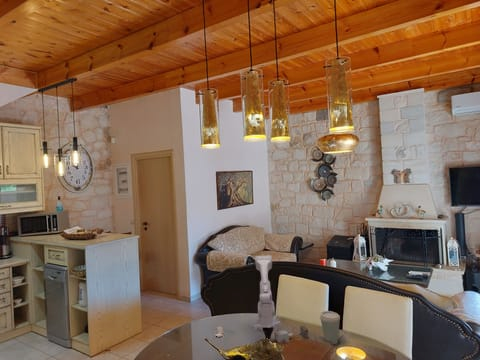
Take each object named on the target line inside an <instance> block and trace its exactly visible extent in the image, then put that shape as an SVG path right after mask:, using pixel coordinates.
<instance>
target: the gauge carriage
mask: <svg viewBox="0 0 480 360" xmlns="http://www.w3.org/2000/svg"><path fill="white" fill-rule="evenodd" d="M274 333H275V335H274V336H275V338H276V339H275V341H276V342H278V344H280V343H279V342H285V343H287V342H286V341H290V336H291V337H294V336H293V335H294V334H293V332H291V333H289V332H288V331H287V330H278V331H275V332H274Z"/></svg>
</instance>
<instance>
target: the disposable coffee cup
mask: <svg viewBox="0 0 480 360" xmlns="http://www.w3.org/2000/svg"><path fill="white" fill-rule="evenodd" d="M319 319H320V322H321V323H320V324H321V327H322V331H323V336H324V340H325V341H326V342H328V343H329V344H330V345H336V344H338V342H339V335H340V334H339V332H340V320H341V315H339V314H338V313H337V312H334V311H331V310H323V311H322V312H321V313H320V316H319Z"/></svg>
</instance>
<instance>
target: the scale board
mask: <svg viewBox="0 0 480 360" xmlns="http://www.w3.org/2000/svg"><path fill="white" fill-rule="evenodd" d="M299 330H300V331H299V332H300V333H298V334H293V336H290V337H295V336H301V337H302V338H298V339H292V340H290V339H289V341H286V342H279V343H278V344H285V343H289V342H295V341H296V342H297V341H301V340H307V339H309V329H308V328H307V327H306V326H304V325H300V326H299ZM290 337H289V338H290ZM274 339H275V340H276V337H274Z"/></svg>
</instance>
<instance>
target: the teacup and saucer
mask: <svg viewBox="0 0 480 360" xmlns="http://www.w3.org/2000/svg"><path fill="white" fill-rule="evenodd" d="M216 329H217V330H216V332H217V331H218V333H216V334H215V335H216V336H217V338H221V336H223V332H222V331H224V330H223V329H224V328H223V326H217V327H216ZM216 336H215V337H216Z"/></svg>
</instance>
